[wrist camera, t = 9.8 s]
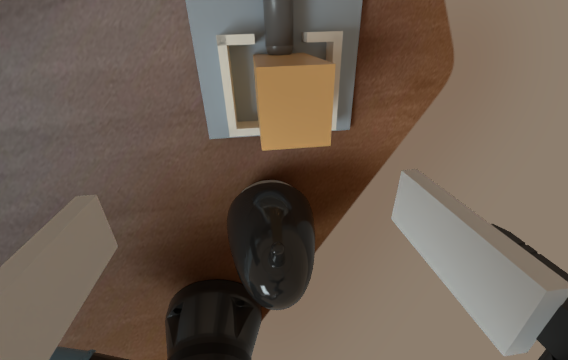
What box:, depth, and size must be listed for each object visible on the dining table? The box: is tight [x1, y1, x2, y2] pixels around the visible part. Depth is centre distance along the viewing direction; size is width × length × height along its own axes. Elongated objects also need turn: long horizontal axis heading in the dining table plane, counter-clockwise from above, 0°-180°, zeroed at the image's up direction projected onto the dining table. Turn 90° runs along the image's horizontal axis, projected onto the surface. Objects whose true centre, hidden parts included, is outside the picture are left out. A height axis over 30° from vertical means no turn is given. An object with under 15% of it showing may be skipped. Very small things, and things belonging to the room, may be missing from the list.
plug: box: [253, 0, 336, 151], centre depth 20 cm, size 16×5×11 cm, turn 2°
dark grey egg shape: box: [227, 180, 315, 310], centre depth 29 cm, size 10×10×15 cm
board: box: [186, 0, 362, 139], centre depth 25 cm, size 19×16×3 cm
